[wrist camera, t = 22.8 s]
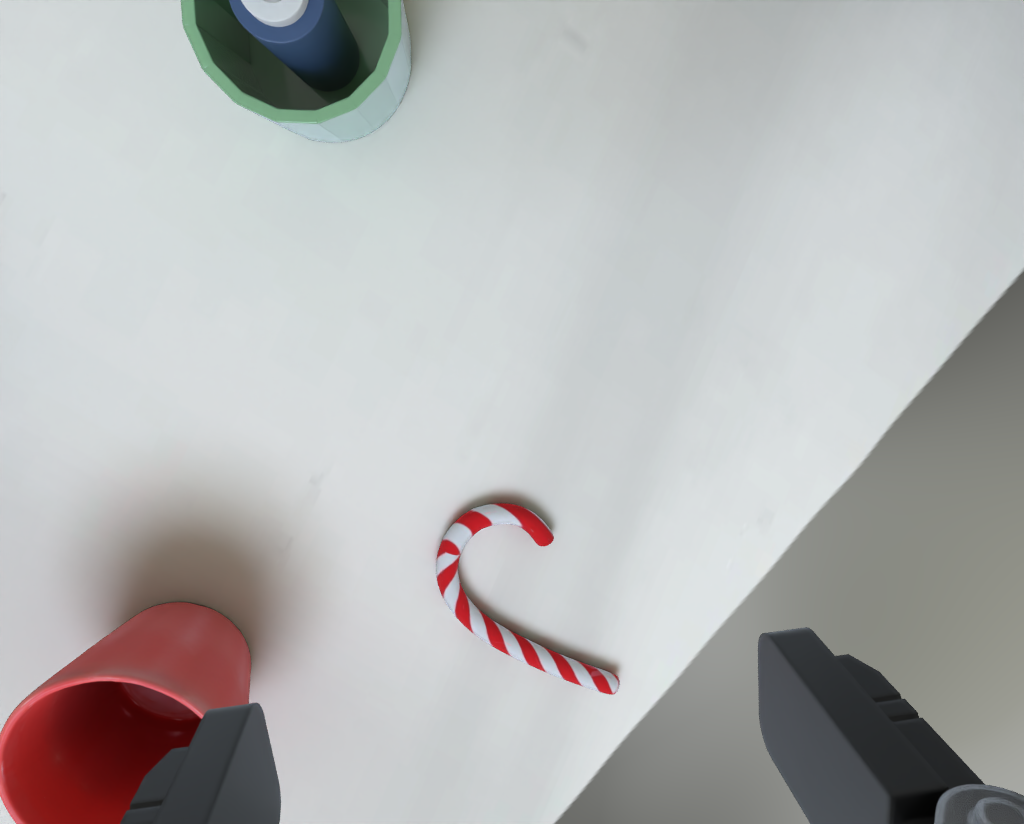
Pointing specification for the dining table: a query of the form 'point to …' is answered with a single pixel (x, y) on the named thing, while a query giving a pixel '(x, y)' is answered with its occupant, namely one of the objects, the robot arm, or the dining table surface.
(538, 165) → the dining table surface
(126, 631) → the flower pot
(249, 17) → the toothbrush
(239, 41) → the cup
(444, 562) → the candy cane
